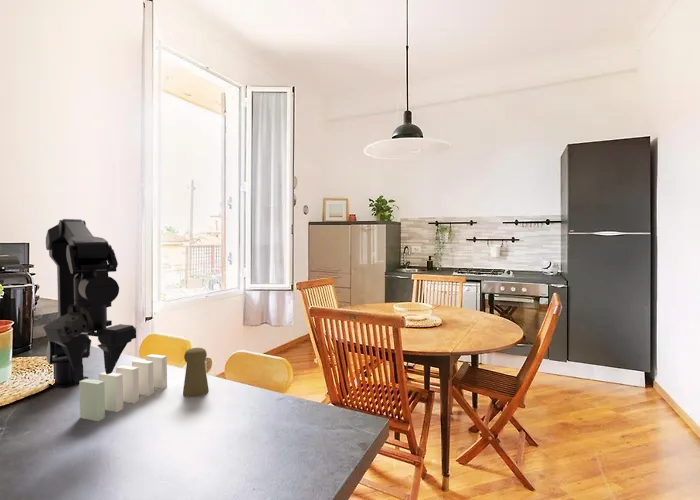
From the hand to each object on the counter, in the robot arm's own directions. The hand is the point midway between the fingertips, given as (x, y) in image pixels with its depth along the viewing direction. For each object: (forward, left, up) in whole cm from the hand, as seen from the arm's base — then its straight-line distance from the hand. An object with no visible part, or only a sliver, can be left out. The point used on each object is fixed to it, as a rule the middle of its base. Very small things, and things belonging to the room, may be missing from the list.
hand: (92, 371), depth 83 cm
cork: (+12, +18, -10) cm, 24 cm away
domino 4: (0, +18, -10) cm, 21 cm away
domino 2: (0, +9, -10) cm, 14 cm away
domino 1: (0, +5, -10) cm, 11 cm away
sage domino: (0, 0, -10) cm, 10 cm away
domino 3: (0, +14, -10) cm, 17 cm away
